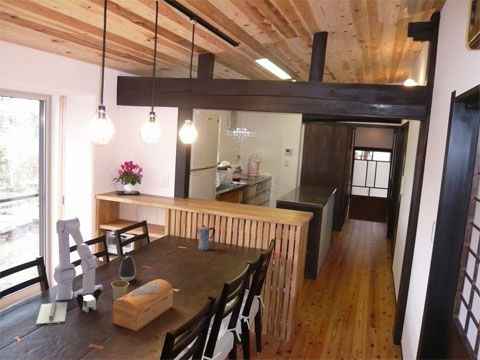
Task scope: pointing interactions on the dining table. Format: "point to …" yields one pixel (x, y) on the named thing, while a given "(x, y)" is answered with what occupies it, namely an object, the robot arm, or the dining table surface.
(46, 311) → the rail plate
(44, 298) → the dining table surface
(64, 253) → the robot arm
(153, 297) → the wooden box
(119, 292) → the flower pot
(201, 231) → the moka pot
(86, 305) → the block
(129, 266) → the egg shaped speaker
